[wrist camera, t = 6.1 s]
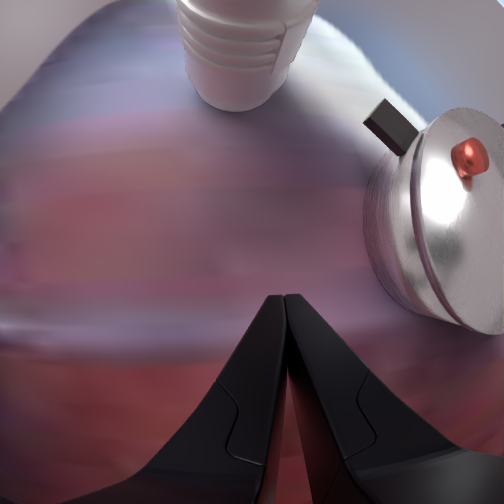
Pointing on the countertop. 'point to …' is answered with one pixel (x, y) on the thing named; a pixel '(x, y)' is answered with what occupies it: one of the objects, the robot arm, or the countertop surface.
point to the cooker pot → (396, 216)
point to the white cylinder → (241, 47)
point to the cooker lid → (462, 215)
